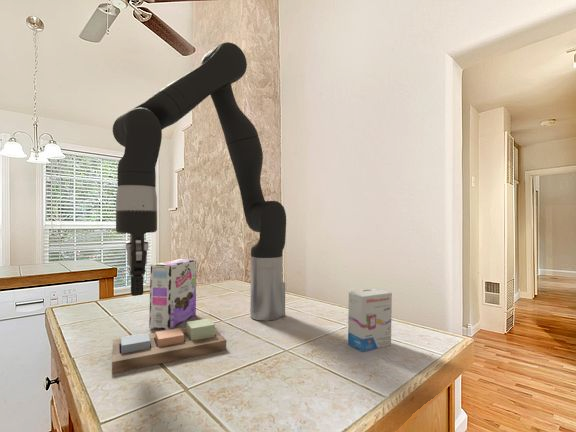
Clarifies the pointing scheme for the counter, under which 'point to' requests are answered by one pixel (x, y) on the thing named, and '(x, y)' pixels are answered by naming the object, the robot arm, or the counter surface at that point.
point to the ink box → (369, 318)
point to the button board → (164, 351)
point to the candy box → (172, 293)
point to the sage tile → (200, 329)
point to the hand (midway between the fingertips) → (137, 294)
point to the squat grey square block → (135, 343)
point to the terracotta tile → (169, 337)
